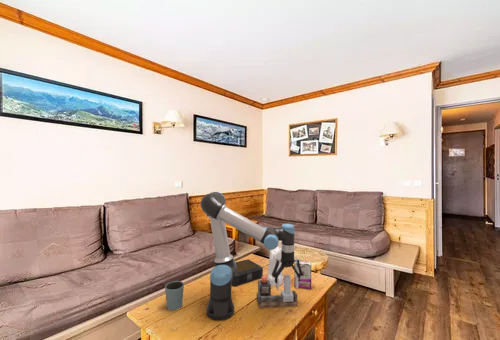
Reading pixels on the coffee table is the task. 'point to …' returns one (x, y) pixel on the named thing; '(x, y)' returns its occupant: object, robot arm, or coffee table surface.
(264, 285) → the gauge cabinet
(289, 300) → the carriage
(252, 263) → the cash box
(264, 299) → the slide rail
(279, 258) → the decorative vase
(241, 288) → the coffee table surface
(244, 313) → the coffee table surface
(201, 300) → the coffee table surface
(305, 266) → the candy bar box
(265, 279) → the button
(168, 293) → the grey cup
